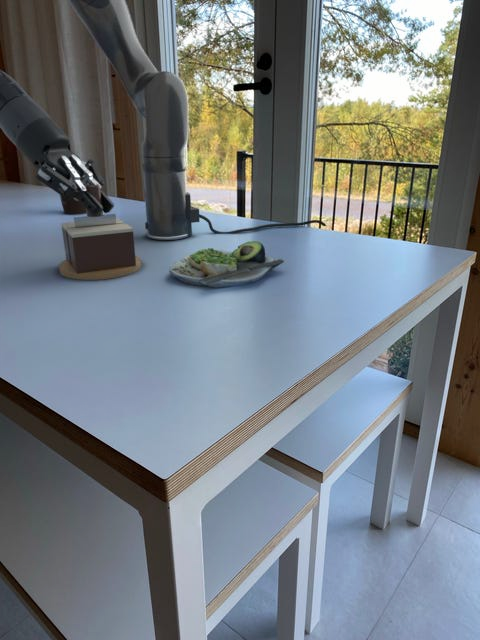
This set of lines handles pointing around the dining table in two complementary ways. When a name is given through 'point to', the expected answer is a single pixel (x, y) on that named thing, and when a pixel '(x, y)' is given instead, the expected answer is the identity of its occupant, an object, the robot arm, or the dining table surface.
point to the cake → (98, 251)
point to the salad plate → (225, 266)
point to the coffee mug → (72, 205)
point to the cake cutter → (90, 219)
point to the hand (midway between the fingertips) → (104, 210)
